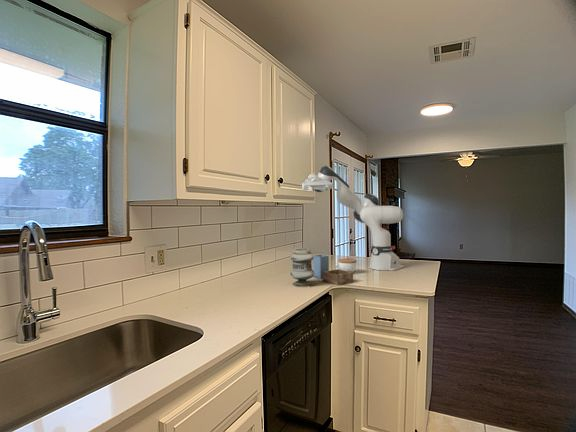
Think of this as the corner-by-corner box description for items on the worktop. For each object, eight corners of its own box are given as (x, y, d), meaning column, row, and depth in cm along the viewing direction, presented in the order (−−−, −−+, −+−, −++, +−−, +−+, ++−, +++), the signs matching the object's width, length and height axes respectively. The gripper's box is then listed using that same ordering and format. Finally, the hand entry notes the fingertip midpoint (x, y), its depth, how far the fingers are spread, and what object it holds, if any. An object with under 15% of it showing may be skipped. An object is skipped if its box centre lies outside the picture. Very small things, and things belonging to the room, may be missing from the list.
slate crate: (321, 275, 186) (321, 254, 185) (328, 277, 181) (328, 255, 180) (313, 277, 182) (313, 255, 182) (320, 279, 177) (320, 257, 177)
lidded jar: (358, 274, 187) (358, 258, 187) (339, 274, 187) (339, 258, 187) (355, 271, 198) (355, 255, 197) (337, 271, 198) (337, 255, 198)
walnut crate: (337, 278, 179) (337, 269, 178) (352, 281, 170) (352, 272, 170) (322, 281, 172) (322, 271, 172) (337, 285, 163) (337, 275, 163)
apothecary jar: (286, 285, 163) (285, 249, 163) (296, 280, 174) (296, 247, 174) (308, 288, 158) (308, 251, 157) (318, 283, 168) (317, 248, 168)
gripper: (328, 186, 219) (335, 193, 206) (298, 187, 214) (304, 195, 202) (329, 176, 216) (336, 184, 204) (299, 178, 211) (304, 185, 199)
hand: (320, 189), depth 203 cm, fingers open, 8 cm apart
